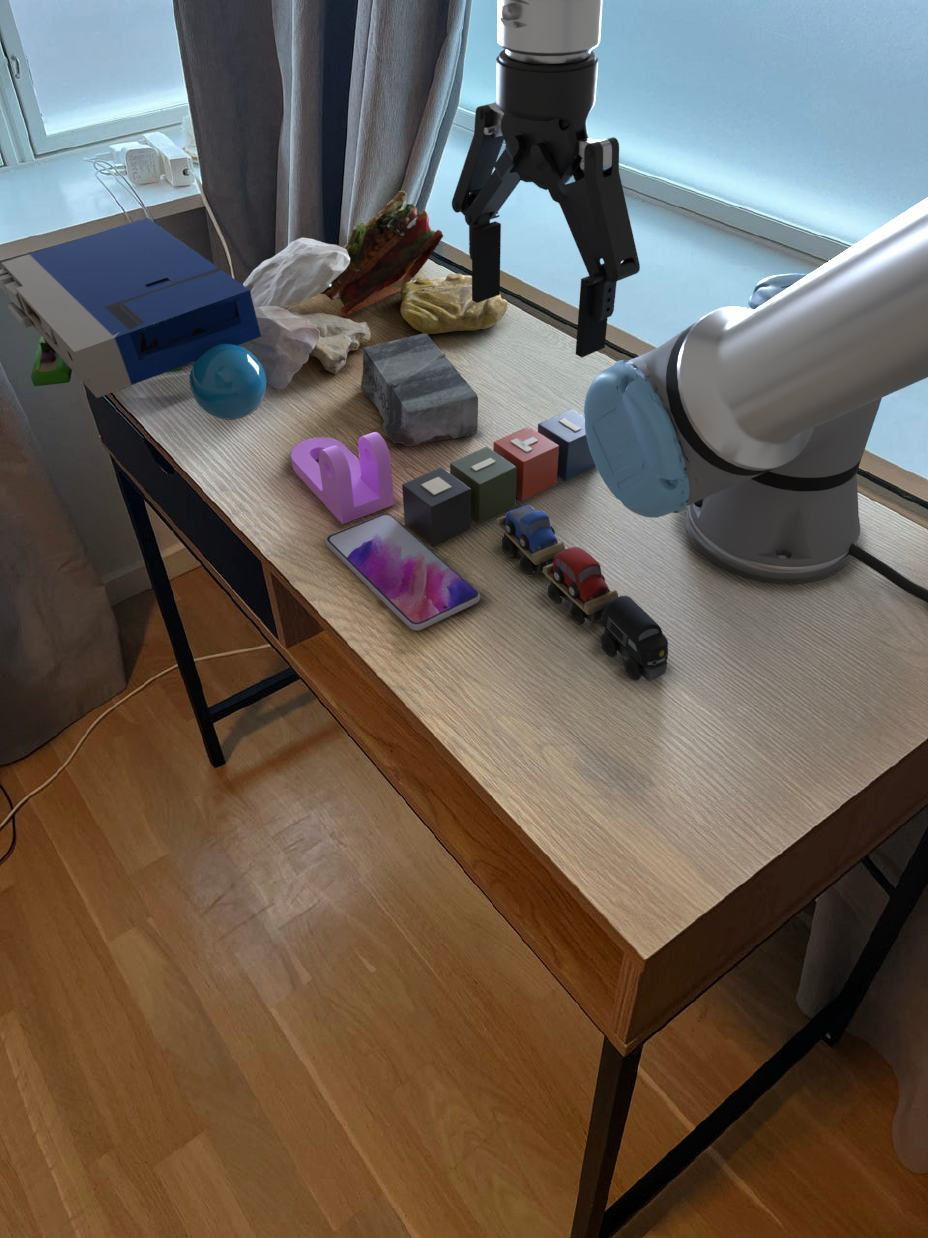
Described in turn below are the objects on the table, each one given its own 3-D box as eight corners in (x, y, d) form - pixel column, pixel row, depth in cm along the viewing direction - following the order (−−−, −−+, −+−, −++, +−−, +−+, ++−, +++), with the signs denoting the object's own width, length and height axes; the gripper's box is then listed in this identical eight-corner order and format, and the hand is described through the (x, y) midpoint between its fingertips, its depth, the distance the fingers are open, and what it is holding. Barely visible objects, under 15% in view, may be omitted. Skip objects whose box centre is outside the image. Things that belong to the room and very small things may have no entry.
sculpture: (407, 316, 114) (387, 268, 125) (409, 344, 117) (388, 294, 128) (515, 305, 116) (485, 259, 127) (514, 332, 119) (485, 285, 130)
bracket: (393, 504, 93) (389, 443, 88) (342, 524, 91) (335, 462, 86) (332, 443, 101) (325, 383, 96) (283, 459, 99) (273, 399, 94)
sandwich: (465, 232, 123) (428, 178, 122) (419, 245, 113) (378, 186, 112) (383, 309, 133) (349, 259, 132) (335, 327, 123) (297, 274, 122)
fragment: (275, 267, 130) (254, 234, 127) (391, 240, 118) (371, 203, 115) (219, 338, 123) (195, 305, 119) (336, 317, 111) (313, 280, 108)
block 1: (471, 528, 90) (471, 487, 87) (432, 546, 88) (431, 506, 85) (442, 505, 93) (441, 465, 90) (404, 523, 91) (401, 483, 88)
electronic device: (261, 336, 104) (156, 256, 122) (250, 289, 100) (144, 214, 119) (85, 402, 96) (3, 306, 115) (66, 354, 93) (-16, 263, 112)
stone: (395, 348, 113) (318, 356, 108) (390, 375, 116) (315, 384, 110) (344, 296, 120) (269, 301, 115) (340, 322, 123) (267, 328, 118)
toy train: (638, 694, 75) (646, 647, 71) (485, 541, 89) (486, 496, 85) (676, 675, 76) (685, 629, 73) (520, 528, 90) (522, 483, 87)
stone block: (399, 455, 100) (396, 411, 96) (354, 390, 109) (350, 348, 106) (478, 435, 102) (478, 391, 98) (427, 373, 112) (425, 331, 108)
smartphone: (388, 510, 91) (484, 594, 82) (388, 517, 92) (483, 602, 83) (321, 537, 88) (413, 628, 79) (322, 544, 88) (413, 635, 80)
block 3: (598, 465, 98) (602, 426, 95) (565, 481, 96) (568, 442, 93) (568, 446, 100) (571, 407, 97) (535, 461, 98) (537, 422, 95)
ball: (222, 447, 104) (283, 411, 102) (171, 395, 98) (235, 356, 96) (222, 404, 109) (280, 369, 107) (174, 352, 104) (234, 314, 102)
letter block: (556, 484, 96) (559, 444, 92) (522, 501, 94) (523, 461, 90) (526, 464, 98) (528, 425, 95) (492, 480, 96) (493, 440, 93)
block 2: (515, 506, 93) (517, 466, 90) (479, 523, 91) (479, 483, 88) (486, 484, 96) (486, 445, 92) (450, 501, 94) (449, 461, 90)
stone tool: (337, 341, 111) (244, 296, 117) (321, 316, 107) (225, 270, 112) (292, 402, 110) (200, 354, 115) (274, 379, 105) (180, 330, 111)
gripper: (404, 28, 76) (416, 288, 91) (637, 95, 62) (606, 391, 76) (478, 14, 80) (477, 267, 94) (713, 74, 65) (671, 361, 80)
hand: (535, 323), depth 85 cm, fingers open, 13 cm apart
